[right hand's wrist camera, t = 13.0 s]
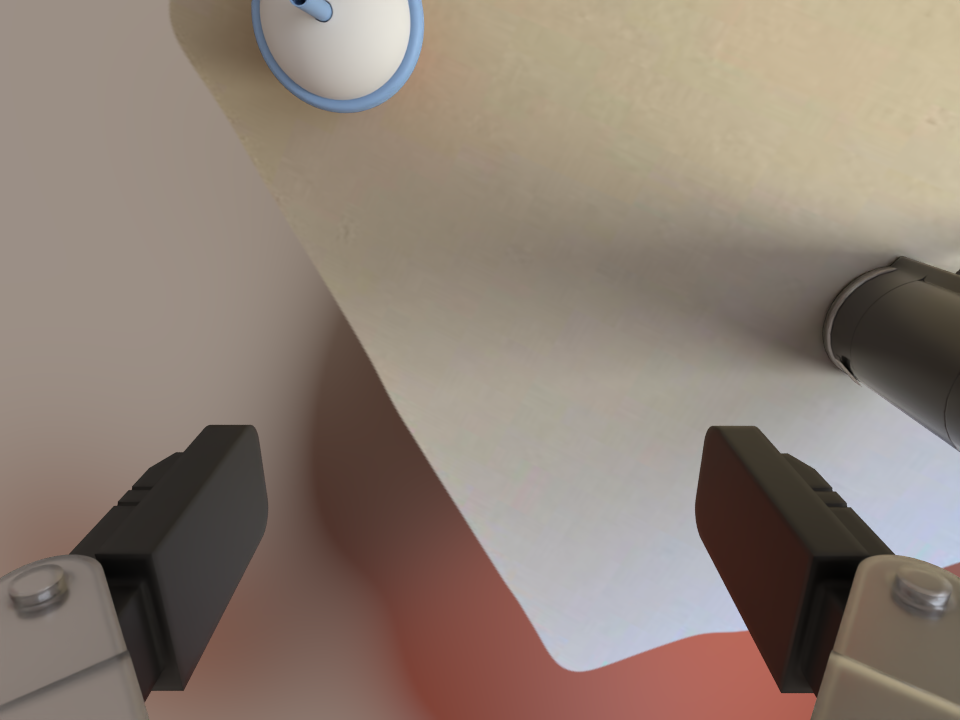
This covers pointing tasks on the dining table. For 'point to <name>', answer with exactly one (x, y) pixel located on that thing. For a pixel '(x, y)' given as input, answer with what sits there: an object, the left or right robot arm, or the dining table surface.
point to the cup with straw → (340, 48)
